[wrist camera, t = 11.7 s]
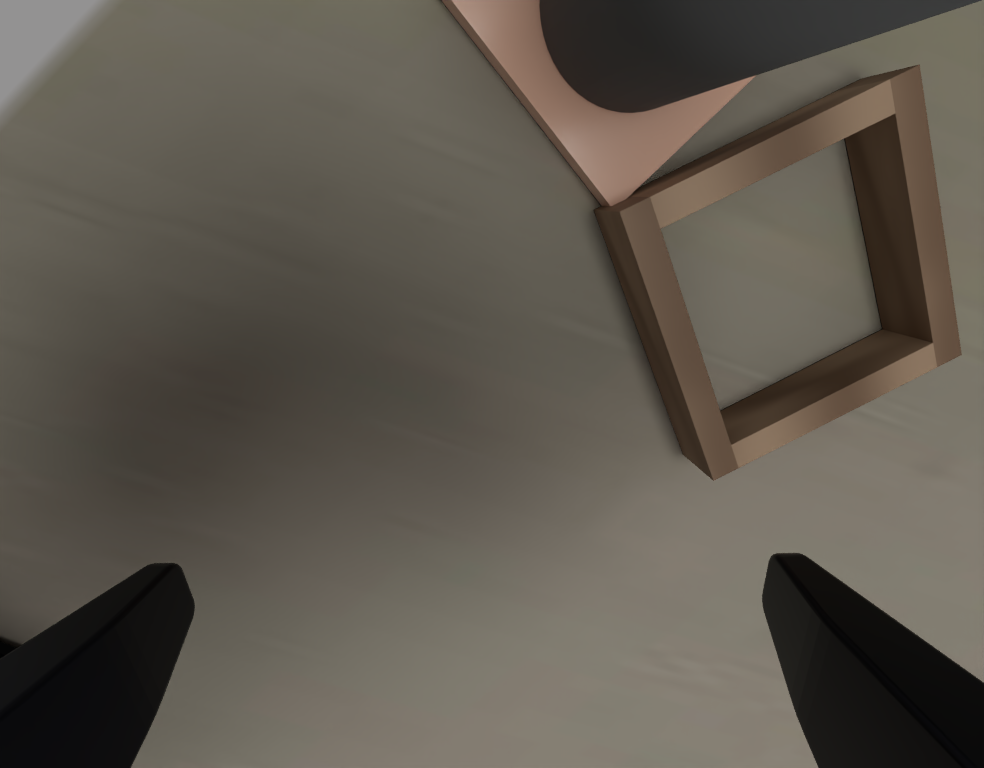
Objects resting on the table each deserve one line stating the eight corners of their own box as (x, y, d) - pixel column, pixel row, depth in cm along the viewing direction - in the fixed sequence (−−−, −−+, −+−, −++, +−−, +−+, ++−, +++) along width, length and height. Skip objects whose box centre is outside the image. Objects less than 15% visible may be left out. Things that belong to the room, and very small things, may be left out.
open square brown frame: (683, 454, 23) (713, 480, 21) (593, 209, 19) (619, 211, 17) (909, 340, 23) (961, 354, 21) (862, 78, 19) (919, 64, 17)
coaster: (605, 209, 19) (614, 210, 18) (434, -8, 16) (437, -18, 16) (792, 31, 19) (809, 24, 18) (647, -227, 16) (660, -248, 15)
